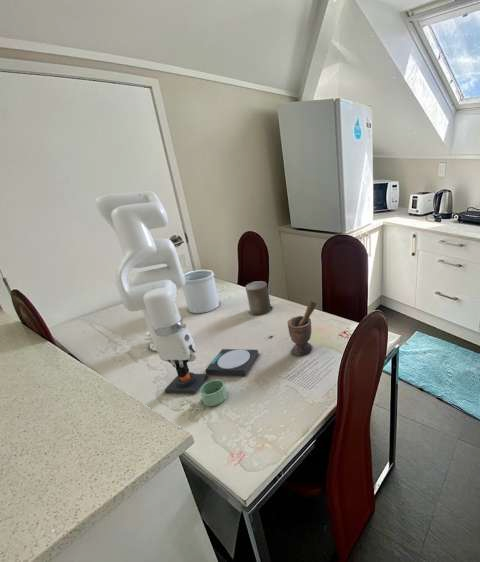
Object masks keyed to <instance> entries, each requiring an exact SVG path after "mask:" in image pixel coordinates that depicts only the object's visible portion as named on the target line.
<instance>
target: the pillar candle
mask: <svg viewBox="0 0 480 562" xmlns="http://www.w3.org/2000/svg"><path fill="white" fill-rule="evenodd" d="M244 288H245V291H246V296H247V302H248V306H249V311H250V314H252V315H254V316H261V315H266V314H269V312H271V311H272V305H271V300H270V294H269V288H268V283H267V282H266V281H263V280H259V281H252V282H250V283H247V284H246V285H245V287H244Z"/></svg>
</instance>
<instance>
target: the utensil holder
mask: <svg viewBox="0 0 480 562" xmlns="http://www.w3.org/2000/svg"><path fill="white" fill-rule="evenodd" d="M183 273H184V272H183ZM184 277H185V285H184V286H183V287H182V291H183V295H184V298H185V302H186V305H187V307H188V308H187V309H188V311H189V312H190V313H193V314H202V313H203V314H205V313H208V312H211V311H213V310H215V309H217V308H218V307H219V305H220V300H219V295H218V294H219V293H218V289H217V285H216V281H215V273H214V271H213V270H211V269H196V270H191V271H187V272H185V273H184Z"/></svg>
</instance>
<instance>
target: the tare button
mask: <svg viewBox="0 0 480 562" xmlns="http://www.w3.org/2000/svg"><path fill="white" fill-rule="evenodd" d="M189 379H190V375H189V373H187V375H186V376H185V377H180V380H181V381H183V382H184V381H187V380H189Z"/></svg>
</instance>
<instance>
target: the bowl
mask: <svg viewBox="0 0 480 562" xmlns="http://www.w3.org/2000/svg"><path fill="white" fill-rule="evenodd" d="M199 393H200V396H201V400H202V403H203V405H204V406H206V407H215V406H218V405H221V403H223V402H224V401H225V400H226V398H227V397H228V393H227V389H226V385H225V382H224V380H222V379H212V380H209V381H207V382H204V383H203V384H202V385H201V387H200V388H199Z"/></svg>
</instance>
